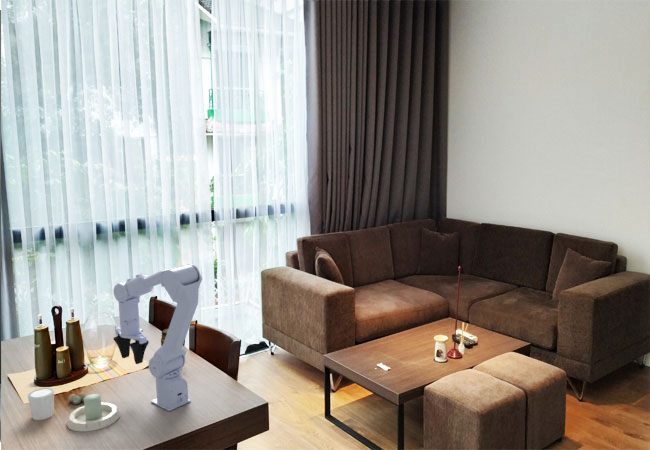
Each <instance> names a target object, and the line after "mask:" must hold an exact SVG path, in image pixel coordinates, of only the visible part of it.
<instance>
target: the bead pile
mask: <svg viewBox="0 0 650 450" xmlns="http://www.w3.org/2000/svg"><path fill="white" fill-rule="evenodd" d="M88 395H89V394H86V393H85V392H79V393H78V394H77V395H76V394H75V393H71V394H69V396H68V398H67V400H68V402H70V403H73V404H74V405H79V404H81V401H82V402H83V403H84V398H85V397H86V396H88Z"/></svg>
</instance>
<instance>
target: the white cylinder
mask: <svg viewBox="0 0 650 450" xmlns="http://www.w3.org/2000/svg"><path fill="white" fill-rule="evenodd" d="M27 399H28V403H29V407H30V409H29V410H30V413H31V418H32V420H35V421H43V420H47V419H49V418H51V417H52V416H53V415H54V413H55V389H54V388H52V387H51V388H50V387H44V388H43V387H42V388H39V389H34V390H33V391H30V392H29V393H28V395H27Z"/></svg>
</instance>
